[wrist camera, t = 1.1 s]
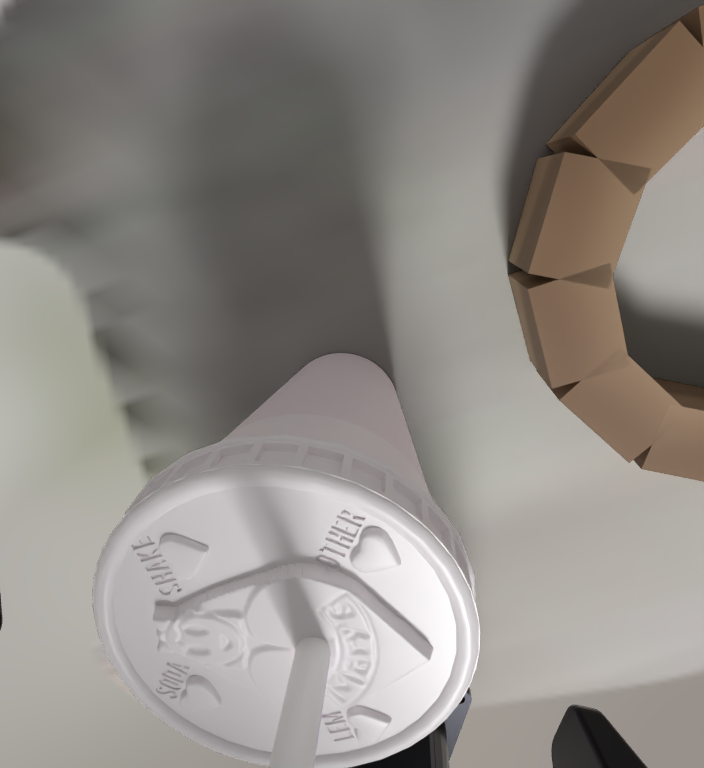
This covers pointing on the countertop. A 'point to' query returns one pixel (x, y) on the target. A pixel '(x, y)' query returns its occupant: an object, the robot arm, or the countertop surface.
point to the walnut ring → (610, 250)
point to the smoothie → (294, 583)
